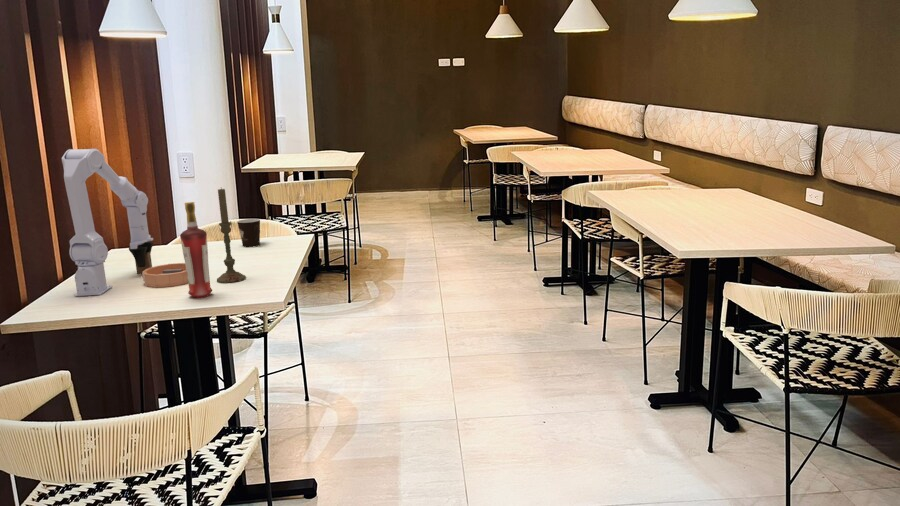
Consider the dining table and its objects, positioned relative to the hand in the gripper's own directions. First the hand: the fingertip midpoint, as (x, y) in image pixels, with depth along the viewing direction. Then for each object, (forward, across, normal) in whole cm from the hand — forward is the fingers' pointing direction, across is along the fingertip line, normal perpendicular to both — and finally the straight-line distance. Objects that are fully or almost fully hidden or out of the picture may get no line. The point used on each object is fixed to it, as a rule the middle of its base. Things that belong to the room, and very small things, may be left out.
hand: (143, 265), depth 248 cm
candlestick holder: (+3, -17, -33) cm, 37 cm away
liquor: (+3, -35, -28) cm, 45 cm away
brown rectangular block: (+3, 0, 0) cm, 3 cm away
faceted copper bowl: (+3, -14, -13) cm, 19 cm away
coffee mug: (+3, +36, -29) cm, 46 cm away
